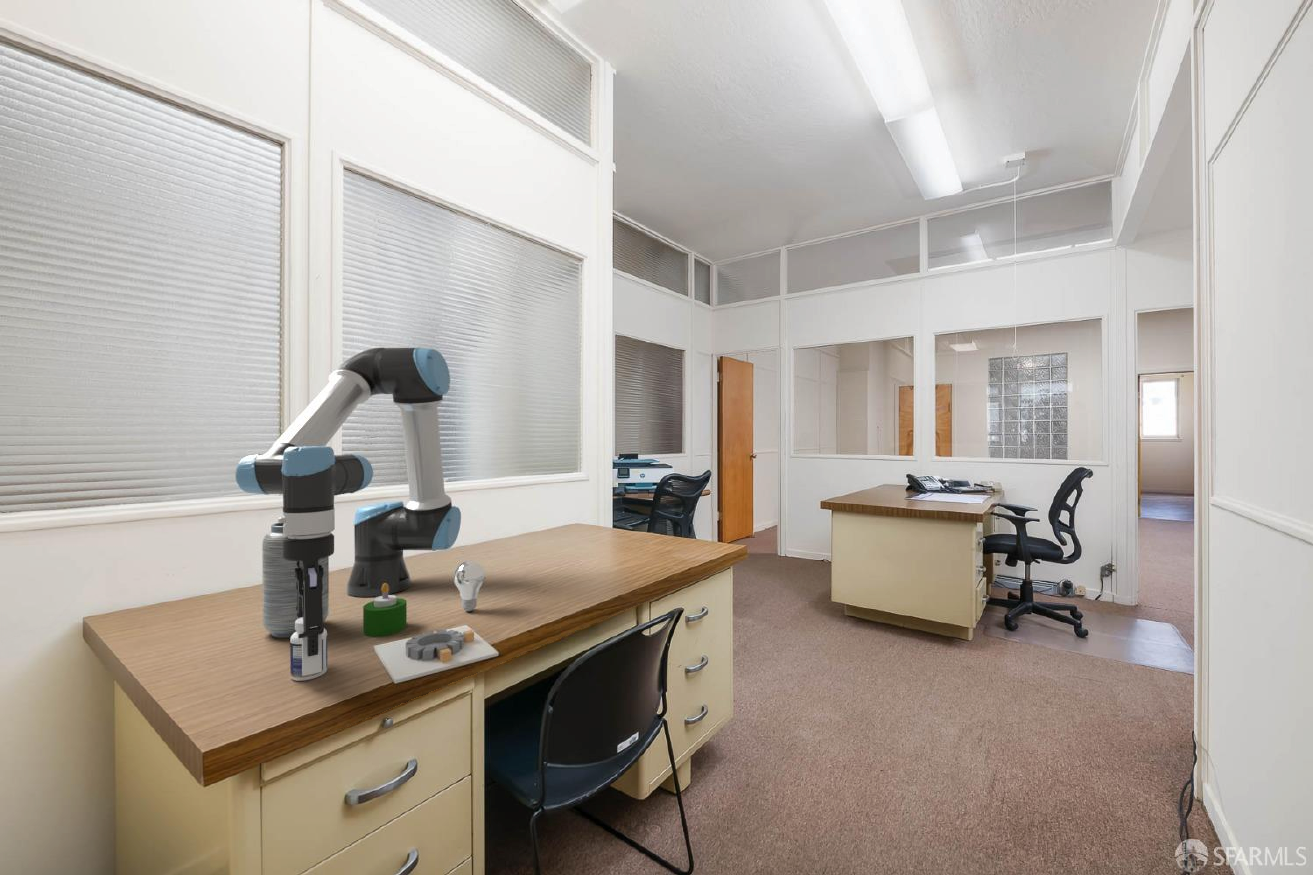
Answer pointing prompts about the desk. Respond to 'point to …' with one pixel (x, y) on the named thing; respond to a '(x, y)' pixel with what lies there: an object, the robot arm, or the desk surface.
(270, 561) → the vase
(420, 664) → the socket
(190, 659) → the desk surface
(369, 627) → the candle
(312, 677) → the pill bottle
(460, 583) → the light bulb
